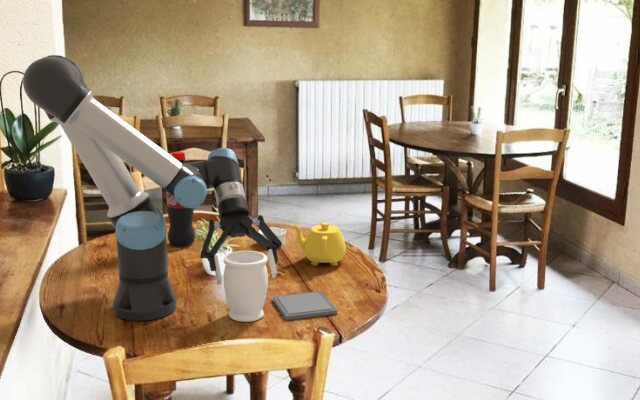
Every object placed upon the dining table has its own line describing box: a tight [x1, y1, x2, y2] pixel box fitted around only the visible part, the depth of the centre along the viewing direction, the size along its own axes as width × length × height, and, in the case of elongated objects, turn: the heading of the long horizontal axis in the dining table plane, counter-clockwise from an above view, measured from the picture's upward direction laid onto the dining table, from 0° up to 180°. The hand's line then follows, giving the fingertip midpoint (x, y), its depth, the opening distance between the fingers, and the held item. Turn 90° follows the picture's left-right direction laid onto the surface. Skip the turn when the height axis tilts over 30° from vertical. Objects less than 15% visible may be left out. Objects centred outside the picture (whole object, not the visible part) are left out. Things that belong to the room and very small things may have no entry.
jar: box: [222, 250, 269, 323], centre depth 165 cm, size 11×10×15 cm
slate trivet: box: [272, 290, 338, 321], centre depth 172 cm, size 13×13×1 cm
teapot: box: [290, 222, 347, 267], centre depth 205 cm, size 14×14×12 cm
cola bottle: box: [166, 151, 196, 248], centre depth 216 cm, size 8×8×30 cm
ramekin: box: [257, 226, 287, 246], centre depth 221 cm, size 9×9×4 cm
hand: (247, 278), depth 165 cm, fingers open, 13 cm apart
